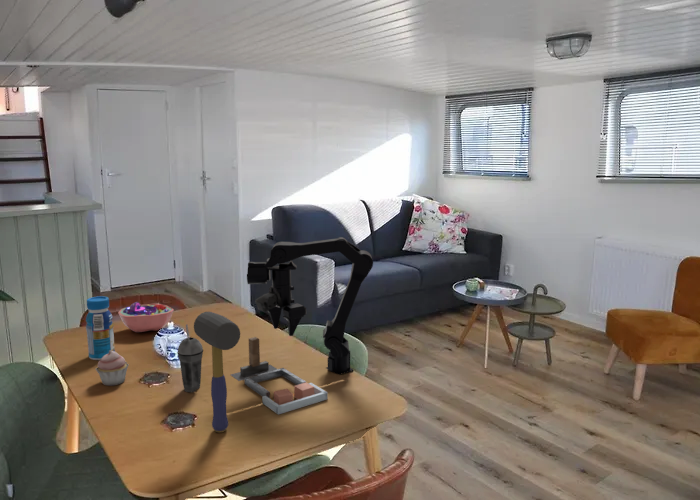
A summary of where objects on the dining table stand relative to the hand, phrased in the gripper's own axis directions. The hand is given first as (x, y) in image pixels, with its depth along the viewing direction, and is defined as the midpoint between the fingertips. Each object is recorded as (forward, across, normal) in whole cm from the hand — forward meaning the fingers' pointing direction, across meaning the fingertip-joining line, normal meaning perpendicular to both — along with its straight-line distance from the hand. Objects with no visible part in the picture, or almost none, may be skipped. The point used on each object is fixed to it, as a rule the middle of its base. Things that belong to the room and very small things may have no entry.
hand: (283, 332), depth 184 cm
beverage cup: (+13, -4, -29) cm, 32 cm away
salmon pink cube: (+13, +20, -6) cm, 25 cm away
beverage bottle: (+12, -47, -42) cm, 65 cm away
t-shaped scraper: (+12, -3, -9) cm, 15 cm away
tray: (+13, +21, -9) cm, 26 cm away
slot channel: (+13, +10, -9) cm, 18 cm away
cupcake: (+12, -23, -46) cm, 53 cm away
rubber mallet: (+13, +24, -33) cm, 43 cm away
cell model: (+12, -65, -21) cm, 70 cm away
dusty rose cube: (+13, +20, -13) cm, 27 cm away
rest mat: (+13, -3, -9) cm, 16 cm away
